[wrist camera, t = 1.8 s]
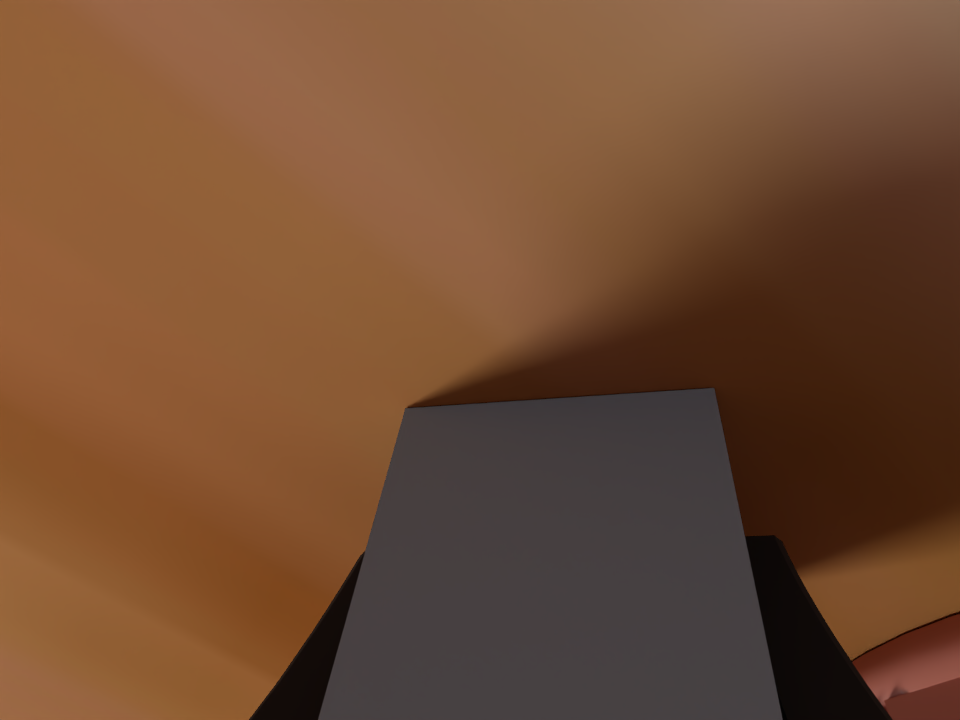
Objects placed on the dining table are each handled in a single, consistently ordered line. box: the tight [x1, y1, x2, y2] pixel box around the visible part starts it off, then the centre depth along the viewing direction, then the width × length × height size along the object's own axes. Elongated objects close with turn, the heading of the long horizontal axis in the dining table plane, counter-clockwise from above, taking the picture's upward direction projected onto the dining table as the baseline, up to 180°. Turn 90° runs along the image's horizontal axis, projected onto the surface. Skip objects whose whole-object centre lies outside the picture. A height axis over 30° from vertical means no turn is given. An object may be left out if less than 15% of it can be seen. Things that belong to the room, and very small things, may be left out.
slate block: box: [318, 388, 783, 720], centre depth 11 cm, size 4×4×6 cm
